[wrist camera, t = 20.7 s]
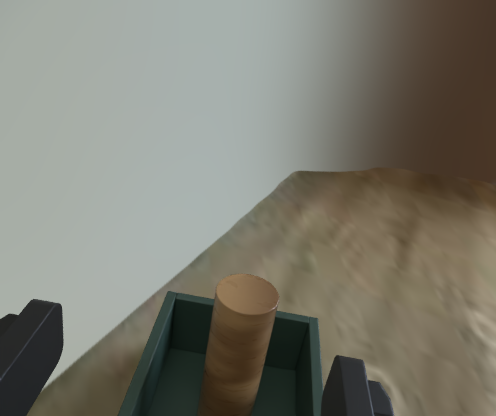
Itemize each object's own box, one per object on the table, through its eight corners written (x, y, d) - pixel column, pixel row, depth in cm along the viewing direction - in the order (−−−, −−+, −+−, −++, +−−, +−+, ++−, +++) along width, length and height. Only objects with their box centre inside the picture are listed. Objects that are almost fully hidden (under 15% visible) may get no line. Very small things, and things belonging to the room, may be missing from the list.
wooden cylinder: (191, 439, 32) (211, 307, 27) (201, 393, 36) (220, 268, 30) (247, 449, 32) (278, 319, 27) (251, 402, 36) (280, 279, 30)
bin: (106, 503, 28) (107, 438, 25) (162, 346, 40) (167, 290, 37) (306, 541, 28) (330, 480, 25) (302, 372, 40) (318, 317, 37)
